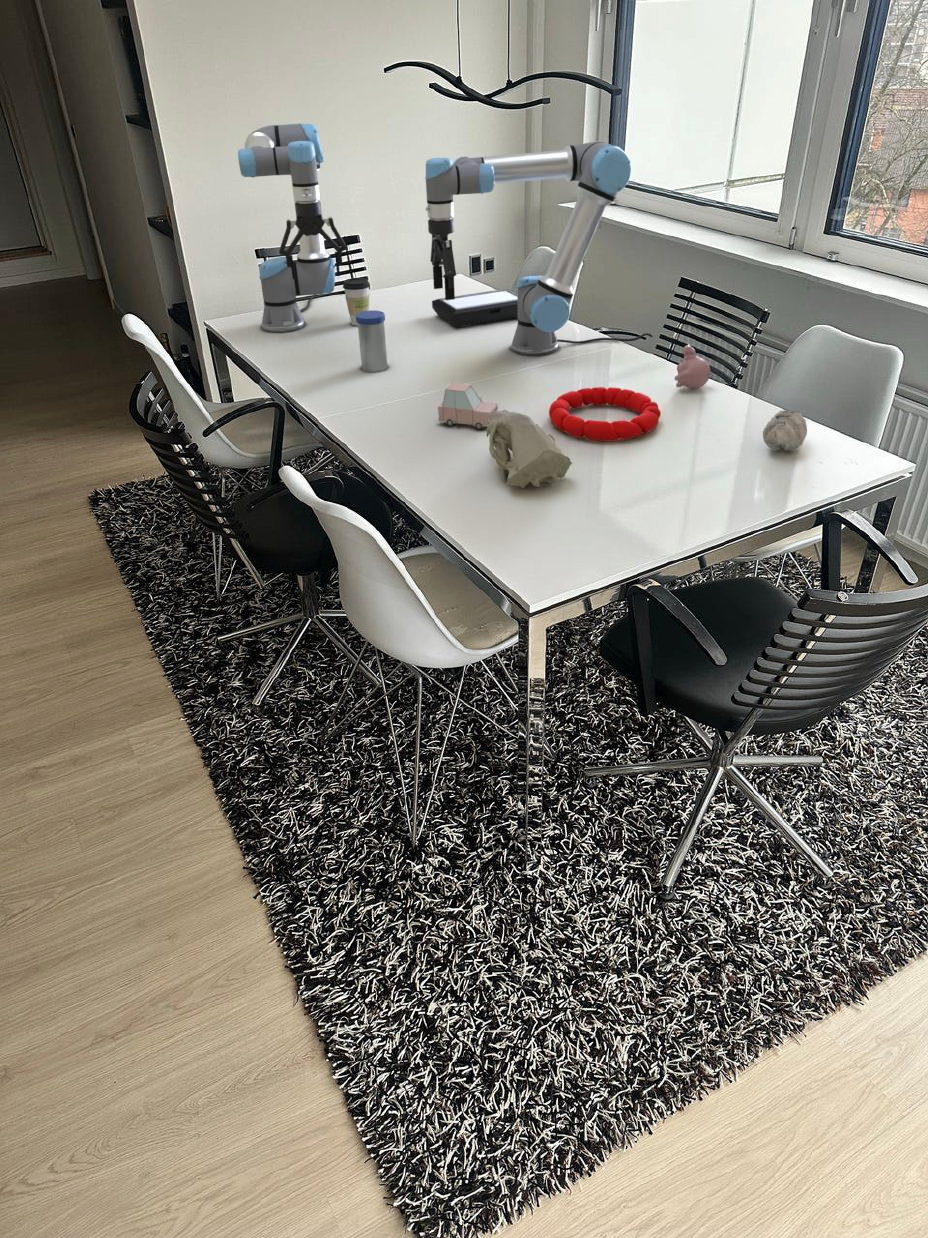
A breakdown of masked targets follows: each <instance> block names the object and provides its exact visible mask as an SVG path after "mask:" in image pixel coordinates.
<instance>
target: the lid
mask: <svg viewBox="0 0 928 1238" xmlns="http://www.w3.org/2000/svg"><path fill="white" fill-rule="evenodd" d="M356 322H357V323H359V324H363V325H373V324H379V323H382V322H384V323H385V322H386V314H385V312H383V311H381V310H369V311H363V312H359V313H357V314H356Z"/></svg>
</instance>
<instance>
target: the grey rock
mask: <svg viewBox="0 0 928 1238" xmlns="http://www.w3.org/2000/svg"><path fill="white" fill-rule="evenodd" d="M485 436H486V438H487V437H489V438H488V440H489V444H488V445H489V446H488V450H489V454H490V456H491V457H492V458H493V459H494V460H495V462H496V464H497V466H499V468H500V470H501V471H502V472H501V478H502V479H507V480H506V484H507V486H517V487H518V486H519V488H523V489H524V488H526V486H527V485H529V483H531V485H533V486H534V487H536V488H540V485H541V484H542V482H544V483H549V484H550V485H553V484H555V483H556V482H557V480H561V479H563V478H565V476H566V474H567V472H568V471H569V469H570V467H571V466H572V464H573V462H572V461H571V458H570V457H568V456H567V455H565V453H564V451H562V449H561V448H560V446H559V444H557V443H556V439H555V438H554V436H553V435H551V434H550V433H548V432H547V431H546V430H545V429H544V428H542V427H541V426H539V425H538V424H537V423H536V424H535V422H534V421H533V419H532V418H531V417H530V416H529V415H527V414H524V413H519V412H515V411H509V410H507V409H502V410H500V411H499V410H497V411H496V412H492V413H491V414H490V422H488V423H487V427H486V435H485ZM511 453H512V454H511ZM511 455H512V457H513V458H512V460H511ZM507 474H508V475H507Z"/></svg>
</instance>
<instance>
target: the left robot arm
mask: <svg viewBox="0 0 928 1238" xmlns="http://www.w3.org/2000/svg"><path fill="white" fill-rule="evenodd" d="M237 158H238V159H237V160H238V165H239V172H240V176H242V177H243V178H257V177H273V176H290V177H291V186H292V193H293V194H292V195H293V202H294V209H295V218H296V219H295V220H291V219H286V228H285V231H284V234H283V237H282V241H281V244H280V247H279V250H278V253H279V255H280V256H277V257H273V258H270V259H267V260H264V261H263V262H261V263H260V265H259V266H258V270H259V280H260V285H261V286H260V287H261V292H262V299H263V313H262V319H261V326H262V330H264V331H265V332H271V333H286V332H293V331H296V330H297V331H298V330H300V329H302V328H304V326H305V318H304V317H303V314H302V313H303V312H304V311H306V310H308V308H309V307H310V305H311V301H312V300H313V299H314V298H315V297H317V295H321V296H322V295H327V294H332V293H333V292H334V290H335V286H336V285H335V284H336V276H337V277H341V271H340V265H342V264H343V256H342V255H343V254H342V253H343V252H344V251H347V249H348V247H347V244H346V242H345V241H344V239H343V238H342V236H341V234H340V232H339V231H338V229H337V228H336V226H335V223H334V219H333V217H332V216H328V217H327V218H323V213H322V203H321V201H320V199H321V195H320V194H321V193H320V185H319V179H318V178H319V177H318V173H319V172H320V170H321V164H323V163H324V162H325V159H324V155H323V150H322V145H321V141H320V137H319V133H318V129H317V127H316V125H315V124H313V123H290V124H288V123H287V124H275V125H274V124H271V125H266V126H263V127H260V128H258V129H256V130H253V131H252V132H251V133H250V134H248V136H247V137H246V139H245V142H244V148H239V149H238V150H237ZM325 224H326V225H327V227H330V229H331V231H332V233H333V234H334V236H335V238H336V240H337V242H338V244H339V245H340V246H339V245H338V244H337V242H335V240H333V238H331V237H330V235H329V234H328V233H327V232H326V231H325V230H324V229H323V227H324V225H325ZM295 226H296V228H297V233H296V235H295V236H294V238H293V239H292V240H291V243H290V244H289V246H288V247H287V249H286V246H287V243H288V241H289V238H290V235H291V230H293V229H294V227H295ZM325 241H326V242H327V243H328V244H329V245H330V246H331V247H332V248H333V249H334V250H335V251H334V258H332V257H331V253H330V252H329V251H328V250H327V249H326V247H325ZM298 243H299V250H300V251H298V253H297V254H296V260H294V258H293V254H292V252H294V250H295V248H296V246H297V245H298ZM285 249H286V250H285ZM300 296H301V297H302V296H303V297H304V296H311V297H310V298H309V299H308V301H307V305H305V307H303V308H301V309H300V307H299V306H298V305H299V304H298V303H297V297H300Z"/></svg>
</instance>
